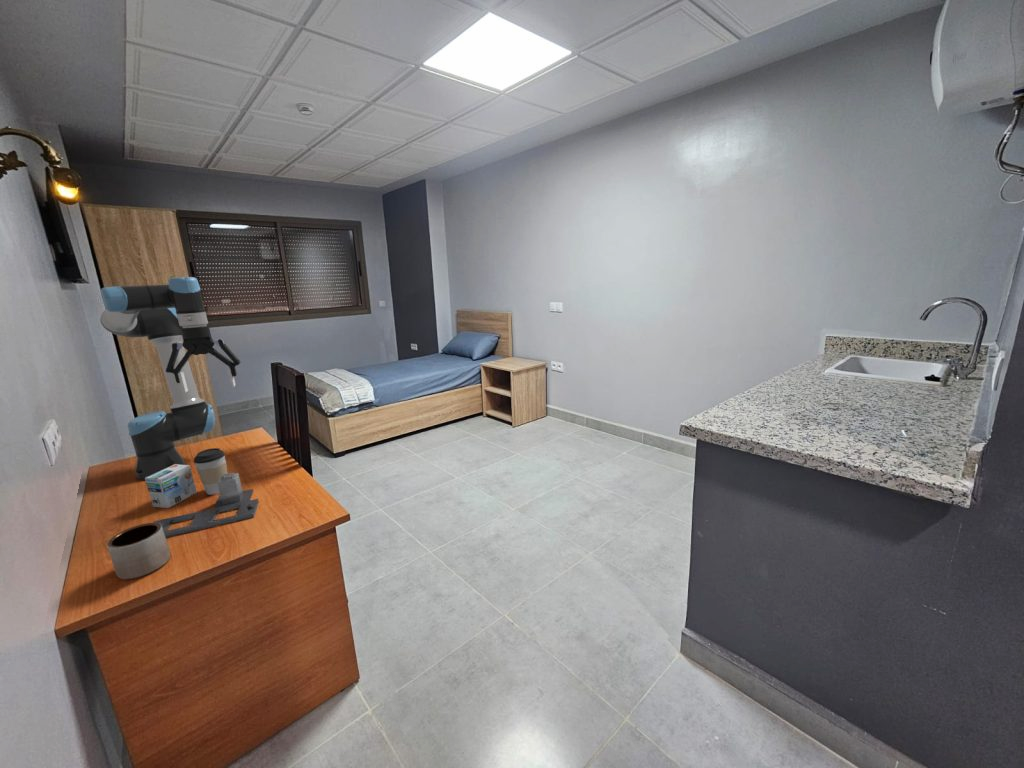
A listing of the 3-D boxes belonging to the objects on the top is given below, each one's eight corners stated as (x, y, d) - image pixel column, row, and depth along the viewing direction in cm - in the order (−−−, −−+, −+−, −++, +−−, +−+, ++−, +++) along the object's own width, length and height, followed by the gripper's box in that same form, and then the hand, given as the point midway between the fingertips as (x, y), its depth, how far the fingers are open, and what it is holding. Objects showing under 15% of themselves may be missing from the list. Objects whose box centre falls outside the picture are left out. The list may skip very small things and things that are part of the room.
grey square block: (226, 497, 139) (220, 474, 137) (243, 493, 141) (237, 470, 139) (222, 504, 135) (216, 480, 132) (240, 500, 137) (234, 477, 134)
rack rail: (154, 524, 126) (153, 519, 126) (258, 501, 137) (257, 497, 136) (141, 543, 117) (139, 537, 117) (253, 517, 128) (252, 512, 127)
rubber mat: (219, 497, 141) (219, 495, 141) (253, 490, 144) (252, 488, 144) (212, 512, 132) (212, 510, 132) (248, 504, 136) (248, 502, 135)
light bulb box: (168, 508, 135) (159, 479, 132) (152, 507, 136) (143, 478, 134) (198, 492, 145) (190, 464, 142) (182, 490, 147) (175, 463, 144)
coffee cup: (200, 499, 140) (189, 459, 136) (204, 487, 148) (194, 449, 144) (231, 491, 144) (221, 452, 140) (234, 481, 152) (225, 443, 148)
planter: (107, 575, 105) (96, 543, 102) (155, 549, 114) (146, 519, 112) (133, 585, 101) (122, 551, 98) (181, 557, 111) (171, 526, 108)
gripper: (141, 331, 125) (160, 397, 130) (237, 323, 134) (250, 386, 140) (151, 328, 131) (168, 391, 137) (241, 321, 141) (254, 381, 146)
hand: (210, 389), depth 138 cm, fingers open, 13 cm apart
